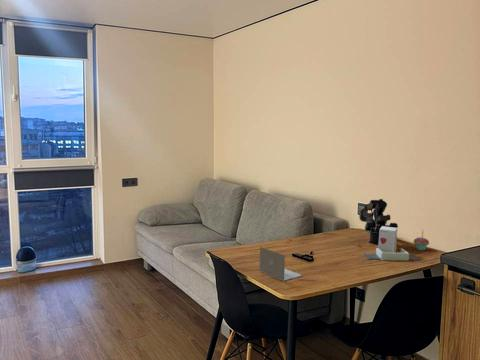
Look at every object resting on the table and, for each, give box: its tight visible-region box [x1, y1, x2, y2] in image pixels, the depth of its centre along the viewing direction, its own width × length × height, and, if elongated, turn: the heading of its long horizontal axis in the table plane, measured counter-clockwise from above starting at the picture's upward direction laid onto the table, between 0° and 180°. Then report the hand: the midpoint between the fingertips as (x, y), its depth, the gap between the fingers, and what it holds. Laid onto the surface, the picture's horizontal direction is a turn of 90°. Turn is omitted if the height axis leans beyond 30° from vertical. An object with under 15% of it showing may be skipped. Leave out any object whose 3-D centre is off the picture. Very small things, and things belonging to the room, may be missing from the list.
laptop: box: [258, 246, 303, 282], centre depth 215 cm, size 18×12×13 cm
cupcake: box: [413, 230, 430, 251], centre depth 263 cm, size 9×8×12 cm
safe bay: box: [363, 247, 422, 262], centre depth 245 cm, size 10×29×4 cm, turn 89°
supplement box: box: [377, 226, 398, 253], centre depth 253 cm, size 9×9×15 cm
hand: (383, 238), depth 260 cm, fingers closed
